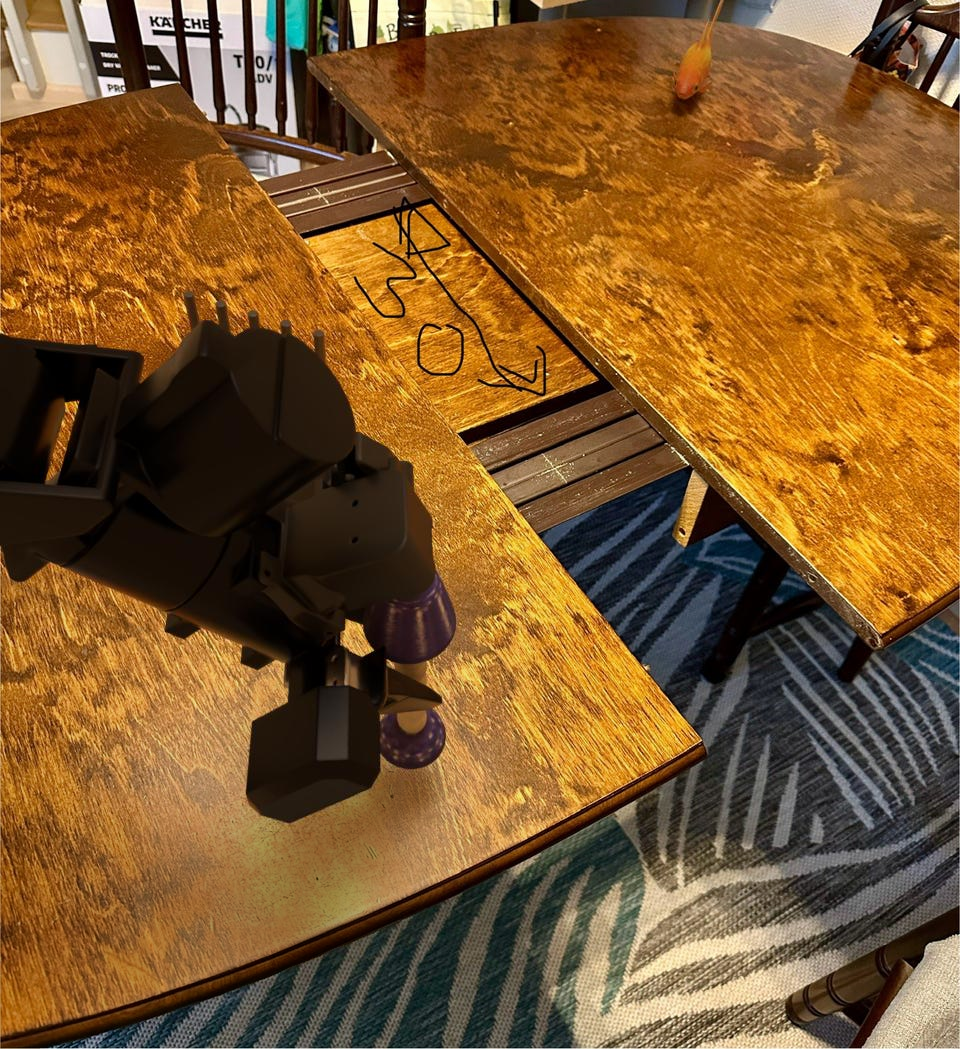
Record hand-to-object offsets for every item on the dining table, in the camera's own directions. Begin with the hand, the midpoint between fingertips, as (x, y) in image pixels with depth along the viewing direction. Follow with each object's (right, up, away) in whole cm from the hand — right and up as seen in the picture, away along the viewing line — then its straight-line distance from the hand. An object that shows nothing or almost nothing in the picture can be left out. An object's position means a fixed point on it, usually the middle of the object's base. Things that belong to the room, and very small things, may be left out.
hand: (434, 670), depth 48 cm
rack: (-19, +17, +28) cm, 38 cm away
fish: (+32, +69, +75) cm, 106 cm away
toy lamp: (-2, -5, +6) cm, 8 cm away
